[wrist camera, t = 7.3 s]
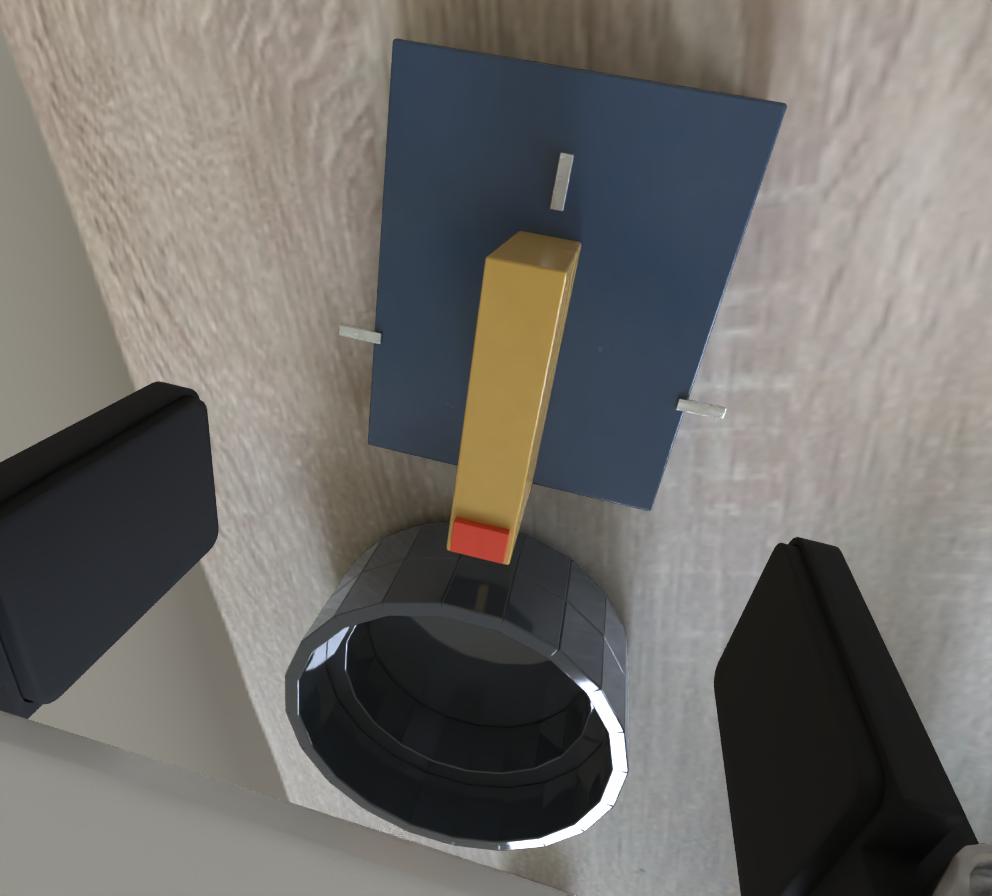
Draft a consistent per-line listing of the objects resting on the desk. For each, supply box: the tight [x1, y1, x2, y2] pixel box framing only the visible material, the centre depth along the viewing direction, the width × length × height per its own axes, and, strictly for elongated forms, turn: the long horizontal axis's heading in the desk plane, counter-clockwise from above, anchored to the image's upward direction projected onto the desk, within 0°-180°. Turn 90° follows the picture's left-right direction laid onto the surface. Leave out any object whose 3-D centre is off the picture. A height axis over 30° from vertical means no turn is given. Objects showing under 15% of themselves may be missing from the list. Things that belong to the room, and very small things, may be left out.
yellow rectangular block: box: [447, 231, 581, 565], centre depth 17 cm, size 8×2×5 cm, turn 172°
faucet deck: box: [339, 39, 787, 511], centre depth 19 cm, size 14×12×3 cm
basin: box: [285, 522, 629, 851], centre depth 25 cm, size 13×13×6 cm
